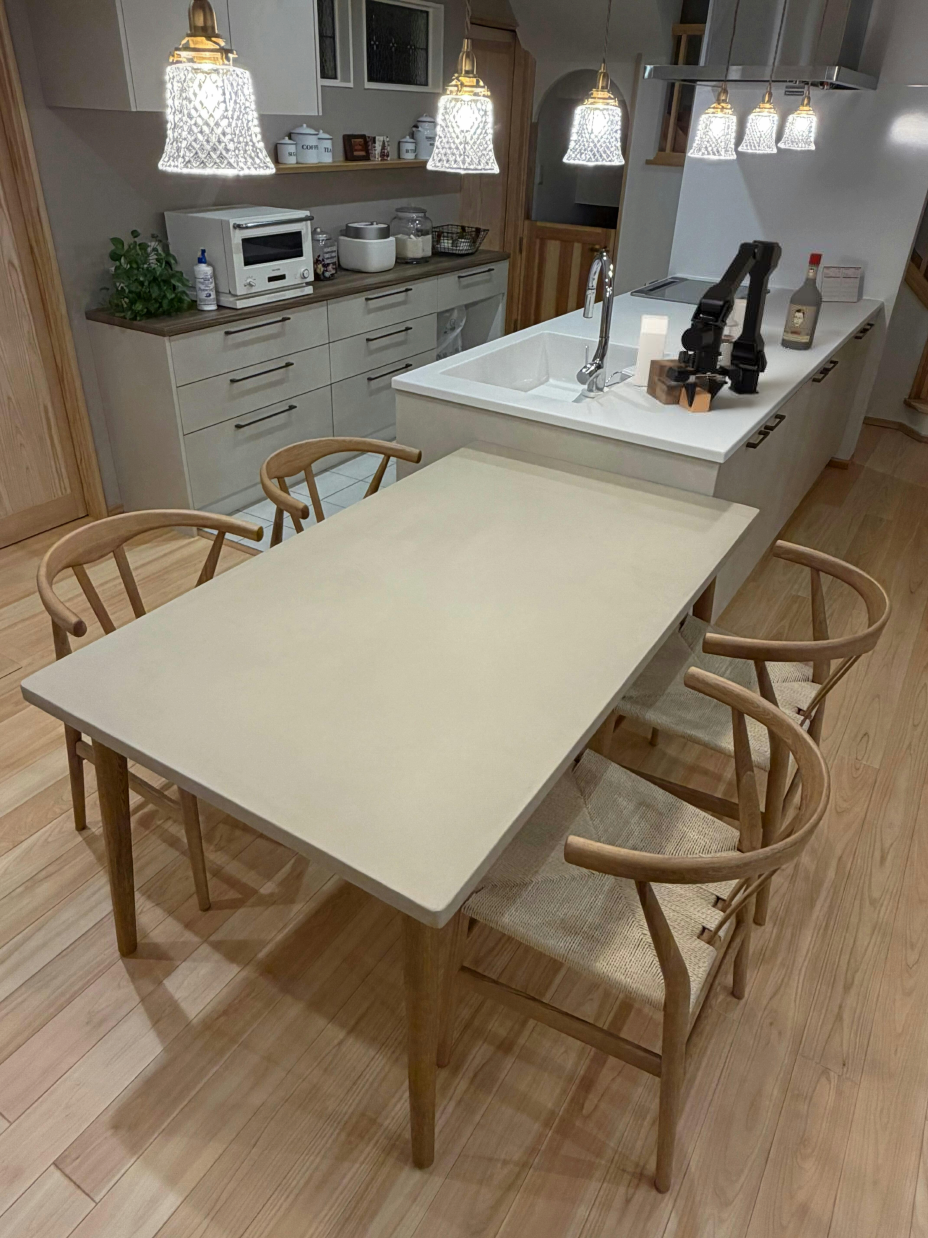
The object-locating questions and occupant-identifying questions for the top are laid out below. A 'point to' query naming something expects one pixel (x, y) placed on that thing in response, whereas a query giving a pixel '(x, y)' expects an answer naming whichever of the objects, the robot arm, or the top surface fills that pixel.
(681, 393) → the orange rectangular block
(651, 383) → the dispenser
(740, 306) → the supplement box
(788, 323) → the liquor
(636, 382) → the milk carton
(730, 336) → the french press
